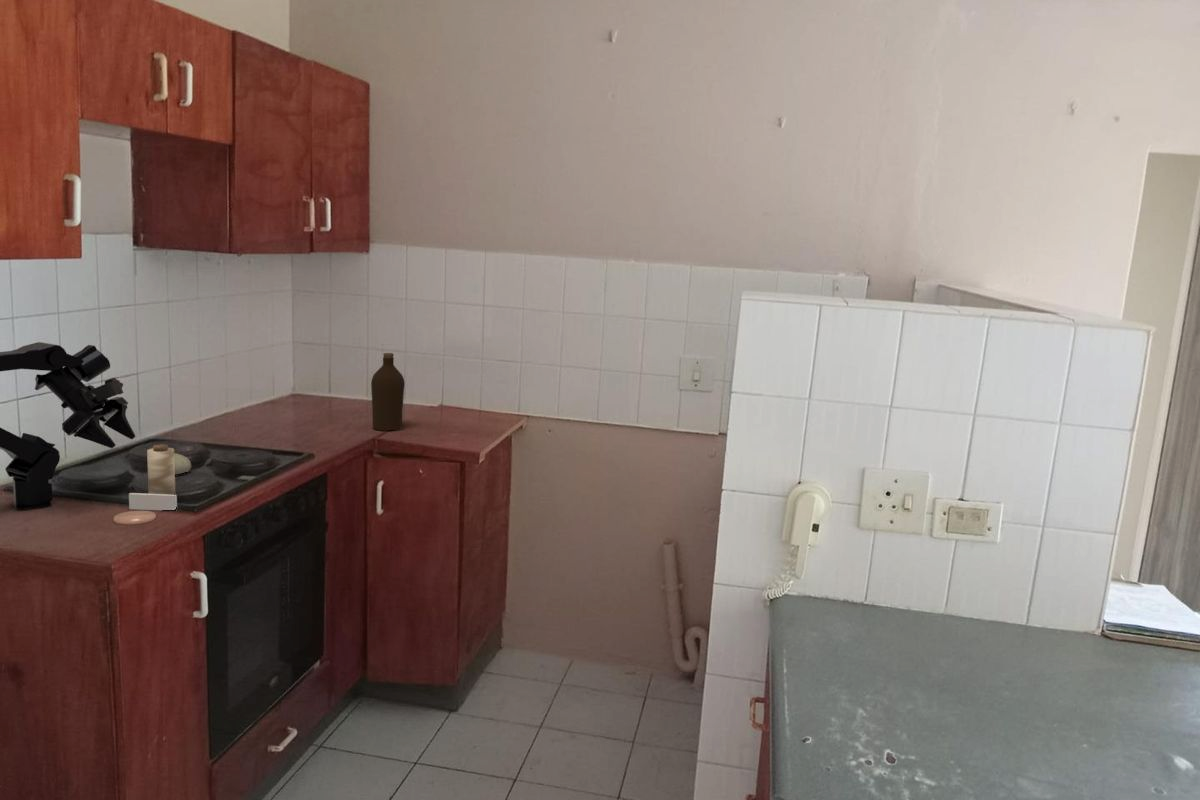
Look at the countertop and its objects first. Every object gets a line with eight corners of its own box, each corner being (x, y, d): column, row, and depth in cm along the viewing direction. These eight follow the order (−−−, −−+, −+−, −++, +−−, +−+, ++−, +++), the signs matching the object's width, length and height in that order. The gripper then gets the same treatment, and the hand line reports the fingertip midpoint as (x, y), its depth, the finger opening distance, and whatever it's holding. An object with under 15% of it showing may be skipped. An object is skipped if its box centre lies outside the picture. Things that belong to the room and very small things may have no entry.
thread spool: (152, 505, 198) (150, 449, 196) (146, 499, 202) (144, 444, 200) (178, 502, 201) (176, 447, 199) (171, 496, 206) (170, 442, 203)
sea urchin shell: (200, 466, 225) (177, 447, 220) (179, 490, 222) (155, 472, 217) (185, 459, 231) (162, 441, 226) (163, 483, 228) (140, 465, 223)
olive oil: (379, 433, 283) (380, 356, 278) (365, 426, 291) (366, 351, 286) (409, 430, 289) (410, 355, 285) (394, 424, 297) (396, 350, 293)
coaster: (118, 527, 183) (118, 524, 183) (109, 516, 189) (109, 514, 189) (160, 521, 188) (160, 518, 188) (150, 511, 194) (150, 508, 194)
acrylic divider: (129, 509, 194) (128, 494, 194) (131, 508, 195) (130, 493, 195) (175, 510, 195) (175, 495, 194) (177, 509, 196) (176, 494, 195)
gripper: (74, 373, 186) (129, 427, 189) (118, 362, 205) (167, 411, 207) (38, 408, 187) (92, 461, 190) (84, 394, 206) (134, 442, 208)
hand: (124, 442), depth 199 cm, fingers open, 9 cm apart
